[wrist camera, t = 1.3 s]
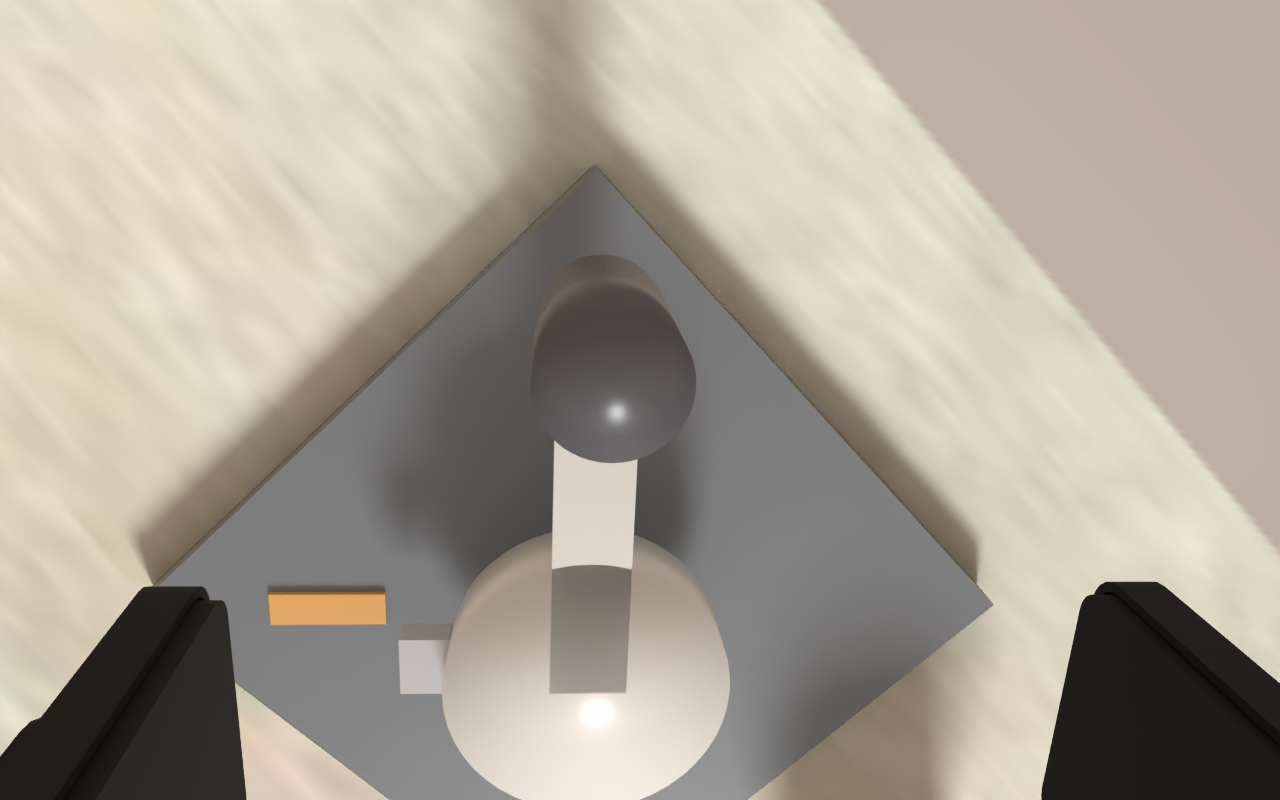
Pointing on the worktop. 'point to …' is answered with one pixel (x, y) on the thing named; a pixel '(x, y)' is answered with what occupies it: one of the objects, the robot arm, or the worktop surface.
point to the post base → (522, 509)
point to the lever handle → (586, 575)
